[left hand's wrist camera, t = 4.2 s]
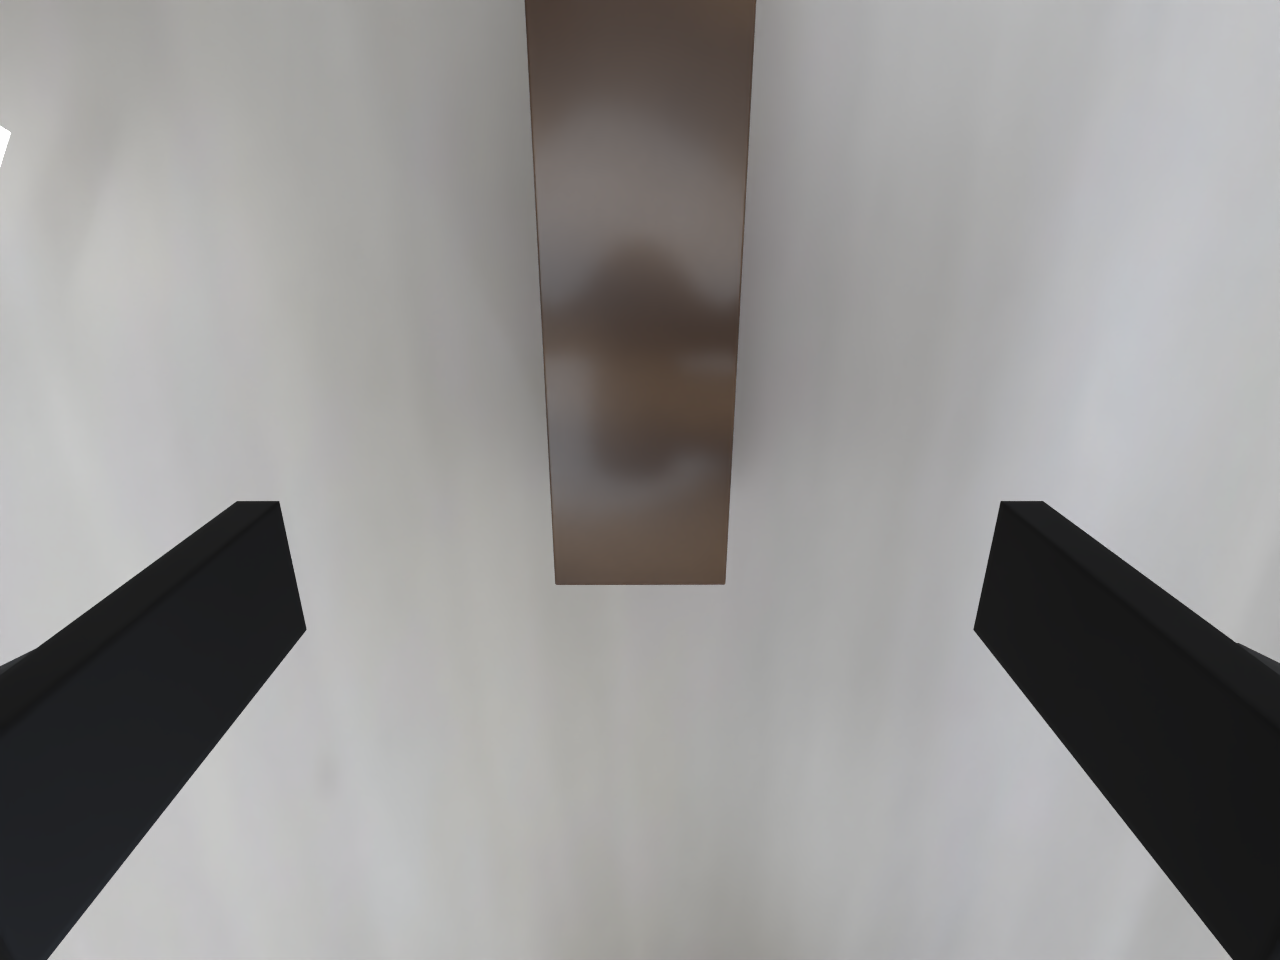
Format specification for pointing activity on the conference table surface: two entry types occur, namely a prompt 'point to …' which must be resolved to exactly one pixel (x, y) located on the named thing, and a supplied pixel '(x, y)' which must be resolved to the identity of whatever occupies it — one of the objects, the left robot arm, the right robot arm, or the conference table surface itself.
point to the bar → (640, 277)
